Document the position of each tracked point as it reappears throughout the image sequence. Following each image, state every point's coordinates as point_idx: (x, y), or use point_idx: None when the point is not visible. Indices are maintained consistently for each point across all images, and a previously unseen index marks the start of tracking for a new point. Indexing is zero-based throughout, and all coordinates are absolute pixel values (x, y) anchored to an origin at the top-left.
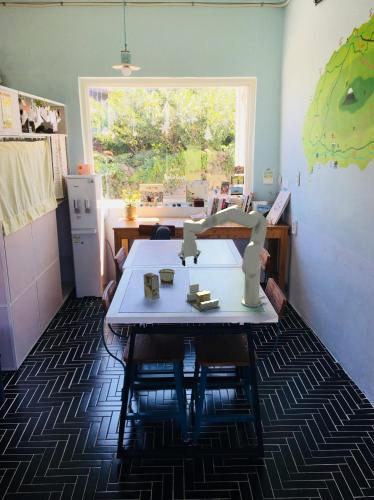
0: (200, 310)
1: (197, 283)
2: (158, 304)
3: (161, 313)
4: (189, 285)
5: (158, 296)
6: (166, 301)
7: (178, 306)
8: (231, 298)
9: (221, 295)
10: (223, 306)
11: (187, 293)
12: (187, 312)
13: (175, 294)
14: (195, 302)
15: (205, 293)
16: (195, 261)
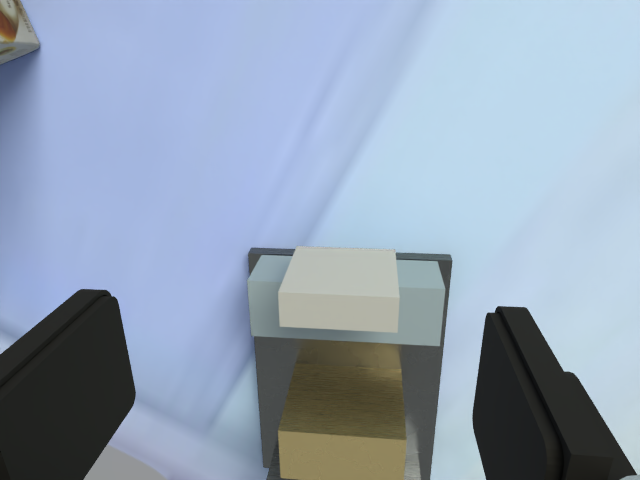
0: (263, 463)
1: (388, 316)
2: (8, 192)
3: (4, 347)
4: (280, 287)
5: (17, 50)
6: (88, 167)
7: (154, 310)
8: (634, 401)
9: (616, 307)
10: (461, 473)
11: (250, 287)
12: (179, 422)
13: (226, 39)
14: (296, 347)
15: (352, 478)
16: (491, 475)
